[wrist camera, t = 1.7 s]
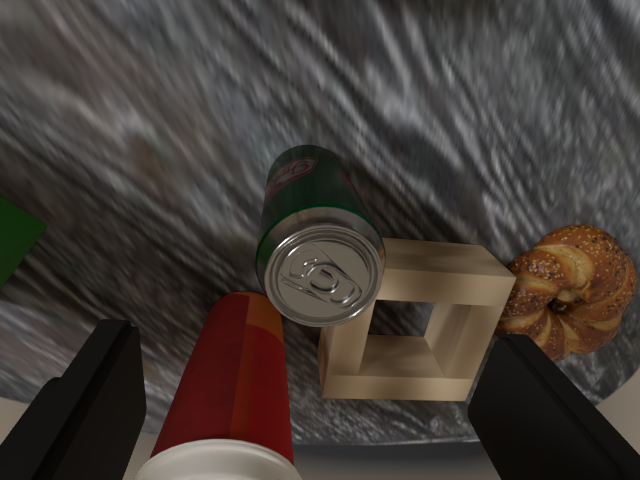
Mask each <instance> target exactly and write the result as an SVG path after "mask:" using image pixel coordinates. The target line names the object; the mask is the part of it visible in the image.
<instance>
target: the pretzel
mask: <svg viewBox="0 0 640 480" xmlns="http://www.w3.org/2000/svg"><path fill="white" fill-rule="evenodd" d="M635 268H636V267H635V266H634V264H633V262H632V261H631V260H630V258H629V257H628V256H627V254H625V253H624V252H623V251H622V248H621V247H620V246H619V244H617V242H616V239H614V238H613V237H612V236H610V235H609V234H607V233H606V232H605V231H604V230H602V229H598V228H596V227H594V226H592V225H585V224H581V225H578V224H575V225H570V226H566V227H563V228H560V229H557V230H555V231H553V232H551V233H549V234H548V235H546V236H545V237H543V238H542V239H541V240H540V241H539V242H538V243H537V244H536V245H535V247H534V248H533V250H530V251H527V252H525V253H522V254H519V255H518V256H517V257H516V258H515V259H513V260H512V262H511V263H510V264H509V265H508V268H507V269H508V270H509V271H510V272H511V273H512V274H513V275H514V276H515V277H516V280H515V283H514V285H513V287H512V290H511V292H510V295H509V297H508V299H507V302H506V304H505V306H504V309H503V311H502V314H501V316H500V318H499V321H498V323H497V326H496V328H495V330H494V333H495V335H497V337H498V338H499V339H500V337H501V336H502V335H503V334H525V335H528V336H529V337H530V338H531V339H532V340H533V341H534V342H535V343H536V344H537V345H538V346H539V347H540V348H541V349H542V351H543V352H544V353H545V354H546V355H547V356H548V357H549V358H550V359H551V360H552V361H553V362H558V361H561V360H564V359H565V358H566V356H567V355H568V354H569V353H570V351H572V352H574V353H581V354H584V355H587V354H588V353H590V352H593V351H595V350H597V349H599V348H600V347H603V346H604V345H606V344H607V343H608V342H609V341H611V340H612V339H613V338H614V336H616V333H617V331H618V330H619V329H620V326H621V325H620V324H621V322H622V321H621V319H622V312H624V311H625V308H626V306H627V305H628V304H629V302H630V301H631V300H632V299H633V296H634V294H635V291H636V289H637V285H638V276H637V271H636V269H635ZM551 300H553V301H554V302H553V303H550V305H549V306H548V305H547V304H548V303H549V302H550V301H551Z"/></svg>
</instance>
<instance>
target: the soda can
mask: <svg viewBox="0 0 640 480" xmlns="http://www.w3.org/2000/svg"><path fill="white" fill-rule="evenodd" d="M385 266H386V252H385V246H384V243H383V240H382V237H381V236H380V234H379V232H378V230H377V228H376V226H375V224H374V222H373V221H372V219H371V217H370V215H369V213H368V212H367V210H366V208H365V206H364V204H363V202H362V201H361V199H360V197H359V195H358V193H357V191H356V190H355V188H354V186H353V184H352V182H351V181H350V179H349V177H348V175H347V173H346V171H345V170H344V168H343V166H342V164H341V163H340V161H339V160H338V158H337V157H336V156H335V155H333V154H332V153H331V152H329V151H328V150H326V149H324V148H322V147H319V146H315V145H300V146H296V147H293V148H290V149H288V150H287V151H285V152H283V153H282V154H281V155H280V156H279V157H278V158H277V159H276V160H275V161H274V163H273V164H272V166H271V168H270V171H269V174H268V178H267V185H266V192H265V198H264V205H263V212H262V218H261V225H260V231H259V238H258V245H257V251H256V261H255V267H256V275H257V278H258V281H259V284H260V286H261V287H262V289H263V291H264V292H265V294H266V295H267V296H268V298H269V300H270V302H271V303H272V305H273V306H274V307H275V309H276V310H277V311H278V312H279V313H280V314H281V315H283V316H284V317H286V318H287V319H289V320H291V321H293V322H295V323H298V324H301V325H304V326H309V327H331V326H336V325H340V324H343V323H346V322H348V321H350V320H352V319H354V318H356V317H357V316H359V315H360V314H362V313H363V312H364V311H365V310H366V309H367V308H368V307H369V306H370V305H371V304H372V303H373V301H374V300H375V298H376V297H377V295H378V292H379V290H380V288H381V284H382V277H383V274H384V270H385Z"/></svg>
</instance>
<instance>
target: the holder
mask: <svg viewBox="0 0 640 480" xmlns="http://www.w3.org/2000/svg"><path fill="white" fill-rule="evenodd" d="M382 240H383V243H384V246H385V252H386V266H385V270H384V274H383V277H382V284H381V288H380V290H379V292H378V295H377V297H376V298H375V300H376V299H379V300H396V301H413V302H431V303H435V304H434V307H433V310H432V313H431V316H430V319H429V323H428V326H427V329H426V332H425V335H424V337H420V336H398V335H375V334H368V330H369V326H370V321H371V317H372V313H373V308H374V304H375V300H374V301H373V303H372V304H371V305H370V306H369V307H368V308H367V309H366V310H365V311H364V312H363V313H362V314H360V315H359V316H357V317H356V318H354V319H352V320H350V321H348V322H346V323H343V324H340V325H336V326H331V327H321V332H320V339H319V345H318V351H317V357H318V366H319V375H320V384H321V393H322V398H339V399H388V400H438V401H465V400H466V398H467V395H468V393H469V390H470V388H471V386H472V383H473V381H474V378H475V376H476V374H477V371H478V369H479V366H480V364H481V362H482V359H483V357H484V354H485V352H486V350H487V347H488V345H489V342H490V340H491V338H492V335H493V333H494V330H495V328H496V326H497V323H498V321H499V318H500V316H501V314H502V311H503V309H504V306H505V304H506V302H507V299H508V297H509V295H510V292H511V290H512V287H513V285H514V283H515V280H516V277H515V276H514V275H513V274H512V273H511V272H510V271H509V270H508V269H507V268H506V267H505V266H504V265H503V264H501V263H500V262H499V261H498V260H497V259H496V258H495V257H494V256H493V255H492V254H491V253H490V252H489V251H488V250H486V249H485V248H484V247H483V246H482V245H470V244H458V243H445V242H433V241H421V240H408V239H396V238H384V237H382Z"/></svg>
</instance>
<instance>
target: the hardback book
mask: <svg viewBox="0 0 640 480" xmlns="http://www.w3.org/2000/svg"><path fill="white" fill-rule="evenodd" d="M46 228H47V225H46V224H44V223H43V222H41V221H39V220H38V219H36V218H35V217H33V216H31V215H30V214H28V213H27V212H25V211H23V210H22V209H20V208H19V207H17V206H15V205H14V204H12V203H11V202H9V201H8V200H6V199H4V198H3V197H1V196H0V289H1V288H2V287H3V285H4V284H5V283H6V281H7V280H8V279H9V277H10V276H11V275H12V273H13V272H14V271H15V269H16V268H17V267H18V265H19V264H20V263H21V261H22V260H23V258H24V257H25V256H26V254H27V253H28V252H29V250H30V249H31V248H32V246H33V245H34V244H35V242H36V241H37V240H38V238H39V237H40V236H41V234H42V233H43V232H44V230H45V229H46Z"/></svg>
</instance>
